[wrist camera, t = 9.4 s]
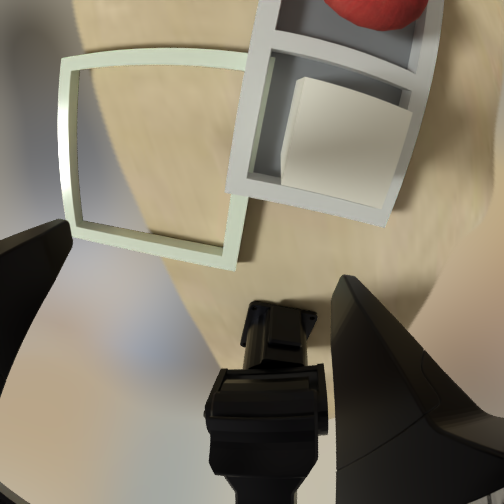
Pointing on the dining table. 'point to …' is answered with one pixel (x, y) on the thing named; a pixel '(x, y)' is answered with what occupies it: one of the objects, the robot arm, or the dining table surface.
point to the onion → (379, 12)
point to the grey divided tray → (332, 71)
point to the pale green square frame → (69, 159)
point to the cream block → (342, 142)
